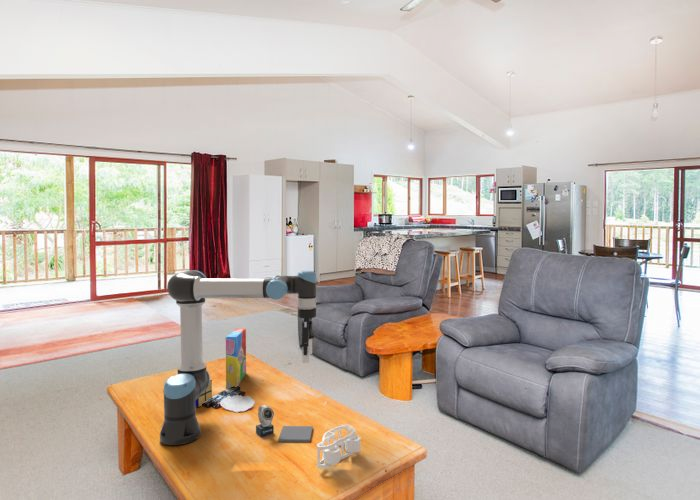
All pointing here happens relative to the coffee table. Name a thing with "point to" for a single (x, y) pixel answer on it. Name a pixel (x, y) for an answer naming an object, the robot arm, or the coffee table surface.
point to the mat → (295, 434)
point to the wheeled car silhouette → (337, 446)
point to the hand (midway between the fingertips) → (307, 358)
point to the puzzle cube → (204, 396)
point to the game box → (235, 357)
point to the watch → (265, 421)
